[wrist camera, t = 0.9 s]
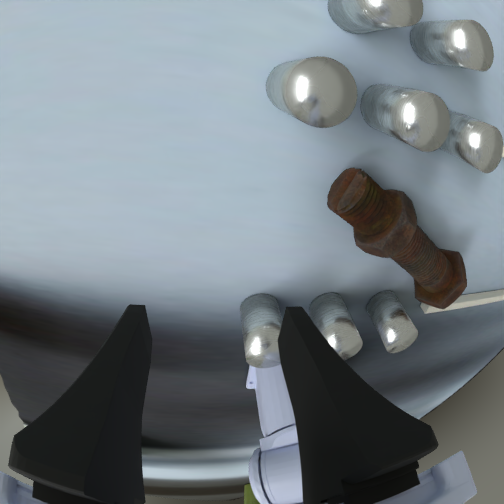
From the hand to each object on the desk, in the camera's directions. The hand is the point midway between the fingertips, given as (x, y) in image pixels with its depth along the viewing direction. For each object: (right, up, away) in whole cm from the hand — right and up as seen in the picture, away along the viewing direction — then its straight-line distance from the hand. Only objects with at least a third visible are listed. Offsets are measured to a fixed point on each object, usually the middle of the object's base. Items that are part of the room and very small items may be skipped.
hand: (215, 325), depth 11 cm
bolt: (+13, +5, +10) cm, 17 cm away
